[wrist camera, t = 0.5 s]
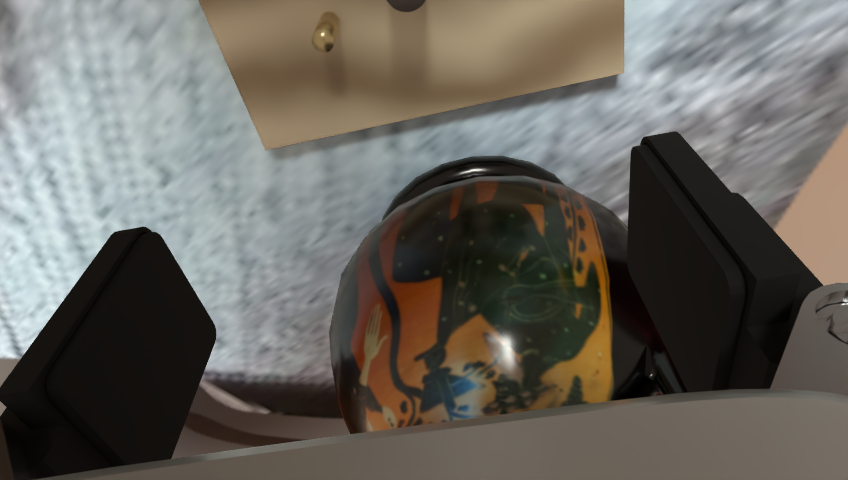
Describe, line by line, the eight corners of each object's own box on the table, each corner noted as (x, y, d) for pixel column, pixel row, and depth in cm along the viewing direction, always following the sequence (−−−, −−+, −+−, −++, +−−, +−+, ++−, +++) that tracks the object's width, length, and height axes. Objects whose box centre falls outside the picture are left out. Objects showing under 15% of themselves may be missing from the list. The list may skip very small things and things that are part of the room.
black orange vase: (522, 50, 35) (726, 457, 13) (659, 254, 46) (900, 668, 23) (286, 223, 43) (158, 663, 20) (450, 363, 53) (482, 752, 31)
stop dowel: (316, 14, 32) (308, 33, 29) (336, 9, 32) (329, 27, 29) (323, 34, 33) (315, 55, 30) (342, 30, 33) (336, 50, 30)
